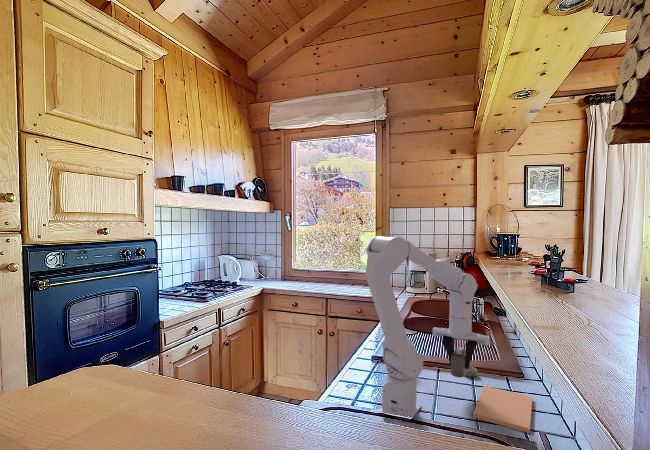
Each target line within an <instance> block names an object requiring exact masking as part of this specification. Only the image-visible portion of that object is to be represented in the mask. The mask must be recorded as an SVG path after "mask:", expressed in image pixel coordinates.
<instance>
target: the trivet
mask: <svg viewBox="0 0 650 450" xmlns="http://www.w3.org/2000/svg"><path fill="white" fill-rule="evenodd" d="M476 402H477V403H476V405H475V407H474V410H473V412H472V418H474V419H478V420H483V421H484V422H485V421H486V422H488V423H489V422H490V423H493V424H496V425H499V426H503V427H507V428H510V429H514V430H517V431H520V432H524V433H527V434H531V426H532V425H531V423H532V413H533V411H532V410H533V409H532V408H533V396H531V395H530V396H529V395H526V394H522V393H517V392H513V391H508V390H505V389H500V388H495V387H492V386H488V385H483V387H482V390H481V392H480V395H479V397H478V400H477V401H476Z"/></svg>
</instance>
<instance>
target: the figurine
mask: <svg viewBox="0 0 650 450" xmlns="http://www.w3.org/2000/svg"><path fill="white" fill-rule="evenodd" d="M478 373H479V372H478V369H477V368H476V367H474V366H470V367H469V369H468V371H467V372H466V374H465V376H464V377H470V378H471V377H476V376H477V375H478Z"/></svg>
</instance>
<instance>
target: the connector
mask: <svg viewBox="0 0 650 450" xmlns="http://www.w3.org/2000/svg"><path fill="white" fill-rule="evenodd" d="M465 363H466V348H464V347H461V346H460V347H459V346H458V347H457V348H454V352H453V353H452V354H451V365H450V375H451V376H453V377H456V378H464V377H466V376H465V374H466V372H467V371H468V369H466V368H465Z"/></svg>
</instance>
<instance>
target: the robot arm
mask: <svg viewBox="0 0 650 450" xmlns="http://www.w3.org/2000/svg"><path fill="white" fill-rule="evenodd" d="M365 252H366V254H367V255H366V256H367V259H366V267H365V278H366V281H367V285H368V288H369V291H370V292H369V293H370V294H371V298H372V301H373V304H374V307H375V311H376V313H377V318H378V320H379V323H380V326H381V327H380V328H381V330H382V334H383V336H384V340H383V341H382V343H381V345H382V350H383V351H382V359H383V362H384V363H385V364H387V367H386V369H387V380H386V383H385V384H384V386H383V387H382V405H381V408H380V409H378V412H379V411H382V412H384V413H390V414H394V415H400V416H404V417H408V416H409V417H413V418H414V417H415V416H416V414H417V413H418V412H419V410H420V409H421V408H422V403H418V402H417V380H418V378H419V376H420V374H421V373H422V372H423V371H422V370H423V368H424V360H423V358H422V355H421V354H419V352H417V349H416V346H415V345H414V343H413V342H412V340H411V339H410V338H409V336H408V335H407V332H406V329H405V326H404V322H403V319H402V315H401V313H400V309H399V305H398V302H397V298H396V297H395V293H394V290H393V286H392V282H391V280H390V278H391V276H392V274H393V273H394V272H395V271H397V269H398V268H399V267H401V265H402V264H403V263H404V262H405V261H410V262H411V263H413V264H416V265H417V266H418V267H420V268H423V269H424V270H427V271H428V275H429V277H430V278H431V279H433V280H434V281H436V282H438V283H439V284H441V285H443V286H445V289H446V290H447V291H448V292H449V315H448V318H449V320H448V322H449V325H448V328H444V327H433V328H432V333H431V334H432V336H433V337H442V340H441V342H442V344H443V346H444V349H445V350H446V354H447V358H448V361H449V366H451V354H452V353H453V352H454V351H455V341H456V340H460V341H464V342H465V341H466V342H465V344H464V346H465V348H464V349H466V363H465V368H466V369H469V367H470V365H471V360H472V358H473V357H472V356H473V354H474V352H475V350H476V348H477V346H478V345H479V344H483V345H484V346H489V345H490V338H491V337H490V336H489V335H484V334H481V333H476V332H472V331H473V328H472V324H473V322H472V321H473V320H472V319H473V318H472V317H473V301H474V298H475V293H476V291H478V286H479V285H478V283H477V280H476V279H475V278H474V276H473V275H472V274H470V273H465V272H463V271H462V268H460V267H457V266H454V265H452V264H451V263H450V260H449V259H447V258H437V259H434V258H433V257H432V256H431V255H428V254H427V253H426V252H424V251H423V250H422V249H420V248H418V247H417V246H416V245H414V243H412V241H409V240H406V239H405V238H403V237H401V236H394V237H393V236H383V235H376V236H374V237H373V238H372V239H371V240H370V242H369V243H368V245H367V246H366V249H365ZM407 336H408V337H407Z"/></svg>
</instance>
